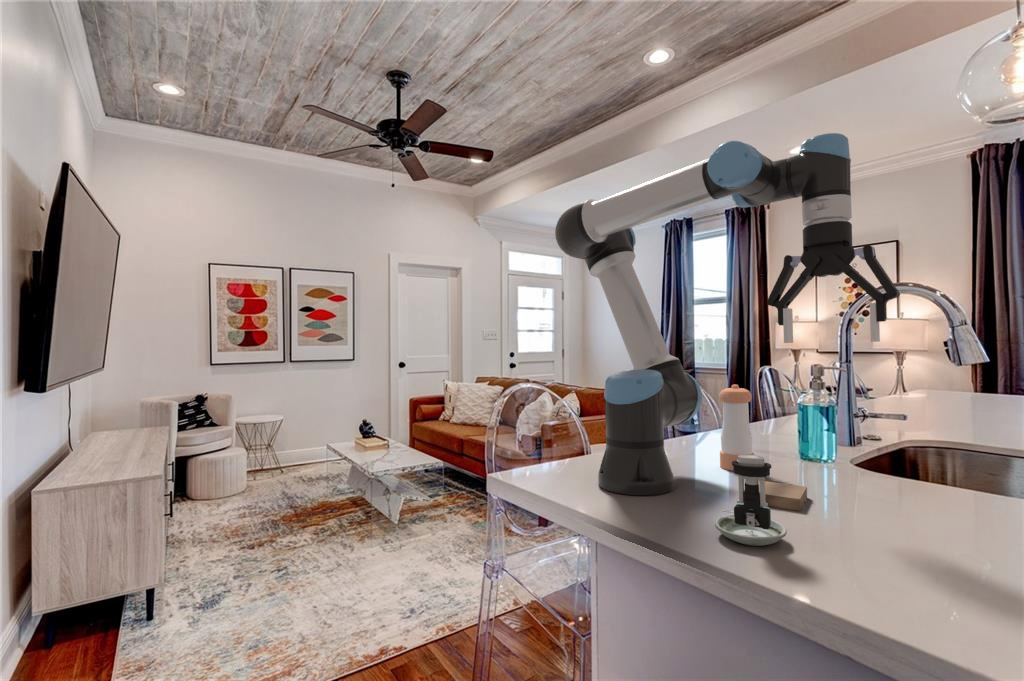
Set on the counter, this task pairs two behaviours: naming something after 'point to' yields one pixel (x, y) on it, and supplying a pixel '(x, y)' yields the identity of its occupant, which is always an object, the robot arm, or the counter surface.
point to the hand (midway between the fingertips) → (829, 342)
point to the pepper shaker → (735, 426)
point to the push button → (751, 492)
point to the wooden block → (784, 495)
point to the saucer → (750, 532)
